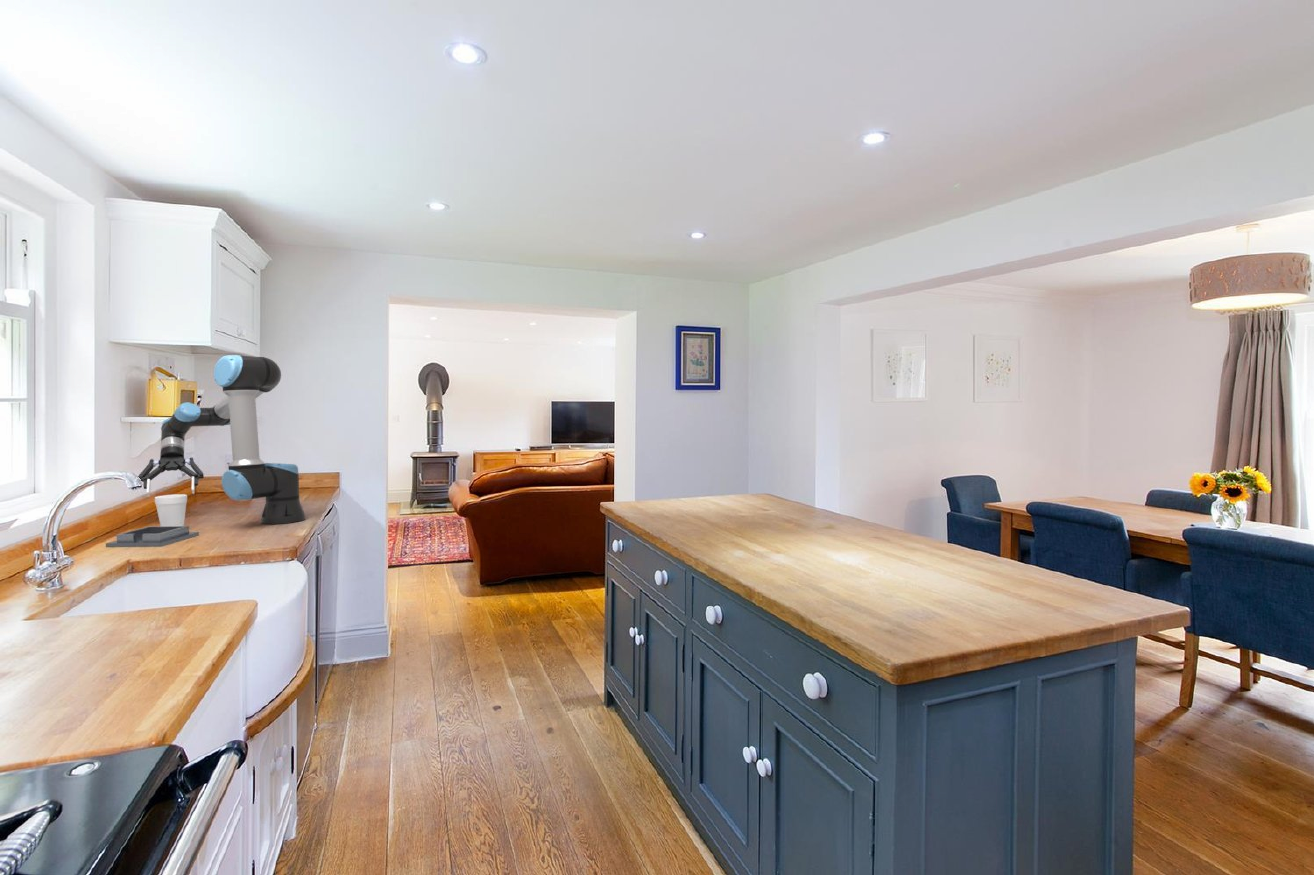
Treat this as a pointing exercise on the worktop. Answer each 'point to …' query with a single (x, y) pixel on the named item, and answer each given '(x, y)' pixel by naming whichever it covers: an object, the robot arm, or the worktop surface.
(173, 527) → the pocket plate
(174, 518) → the foam cup
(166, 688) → the worktop surface
